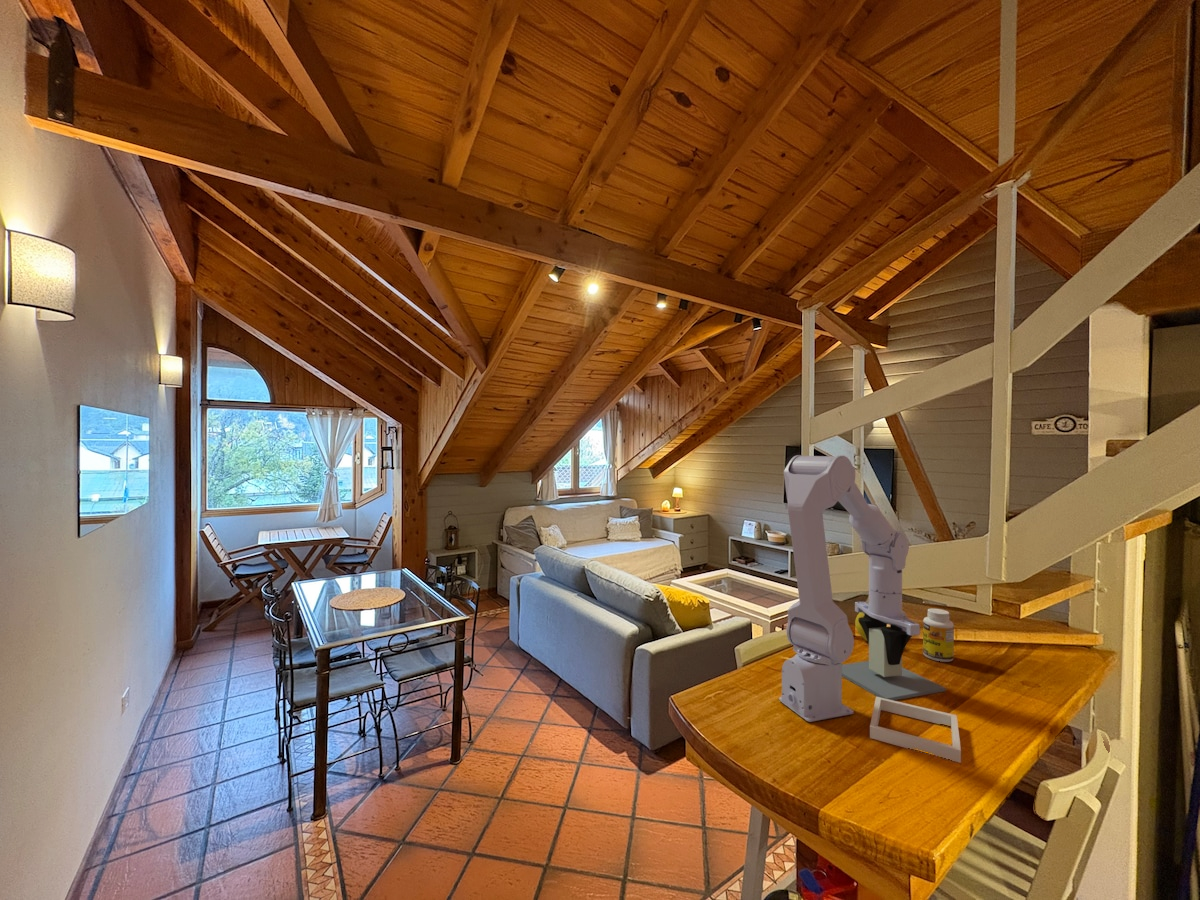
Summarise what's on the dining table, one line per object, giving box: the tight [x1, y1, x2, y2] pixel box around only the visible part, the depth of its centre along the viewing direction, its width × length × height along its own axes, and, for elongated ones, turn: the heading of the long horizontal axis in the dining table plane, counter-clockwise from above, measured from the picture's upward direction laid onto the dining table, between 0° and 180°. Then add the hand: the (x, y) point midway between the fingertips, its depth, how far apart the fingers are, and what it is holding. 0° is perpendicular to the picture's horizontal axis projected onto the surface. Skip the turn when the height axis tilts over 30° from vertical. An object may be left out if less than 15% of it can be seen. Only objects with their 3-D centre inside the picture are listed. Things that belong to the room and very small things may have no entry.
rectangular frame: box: [869, 696, 962, 764], centre depth 81 cm, size 12×12×2 cm
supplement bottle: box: [922, 607, 955, 663], centre depth 110 cm, size 6×6×10 cm
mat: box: [842, 660, 946, 701], centre depth 99 cm, size 14×14×1 cm
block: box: [868, 627, 903, 677], centre depth 99 cm, size 4×4×8 cm
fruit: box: [854, 612, 868, 643], centre depth 119 cm, size 6×6×8 cm
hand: (885, 659), depth 99 cm, fingers closed on block, 4 cm apart
